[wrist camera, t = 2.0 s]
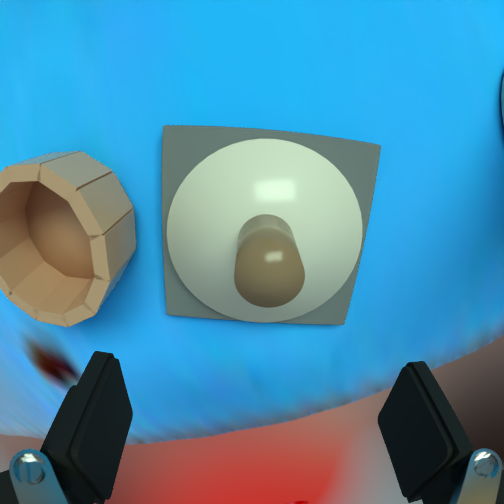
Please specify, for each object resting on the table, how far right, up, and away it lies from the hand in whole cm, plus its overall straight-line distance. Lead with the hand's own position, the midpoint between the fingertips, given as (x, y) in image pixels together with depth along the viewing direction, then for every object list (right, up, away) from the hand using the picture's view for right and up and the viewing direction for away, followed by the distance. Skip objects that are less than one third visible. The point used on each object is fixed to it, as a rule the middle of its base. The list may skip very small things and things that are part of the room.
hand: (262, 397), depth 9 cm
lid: (+1, +6, +12) cm, 13 cm away
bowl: (-14, +7, +13) cm, 20 cm away
